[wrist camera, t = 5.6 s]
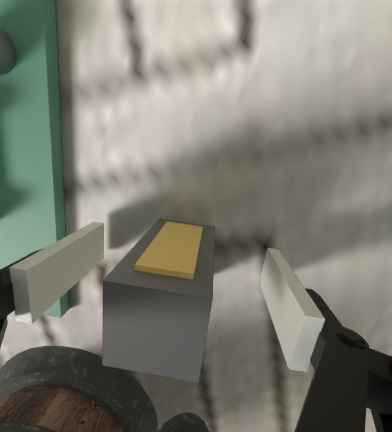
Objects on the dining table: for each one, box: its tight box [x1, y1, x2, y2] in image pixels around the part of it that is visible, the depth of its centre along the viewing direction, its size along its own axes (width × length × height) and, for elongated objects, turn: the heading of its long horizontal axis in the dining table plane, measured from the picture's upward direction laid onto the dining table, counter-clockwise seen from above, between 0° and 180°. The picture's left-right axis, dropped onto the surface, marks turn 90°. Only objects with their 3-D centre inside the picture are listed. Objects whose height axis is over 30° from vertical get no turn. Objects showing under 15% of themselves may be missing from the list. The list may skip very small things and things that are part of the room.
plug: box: [102, 219, 215, 383], centre depth 12 cm, size 4×4×8 cm
